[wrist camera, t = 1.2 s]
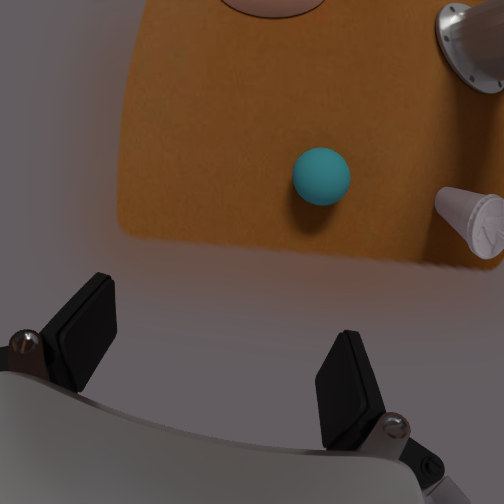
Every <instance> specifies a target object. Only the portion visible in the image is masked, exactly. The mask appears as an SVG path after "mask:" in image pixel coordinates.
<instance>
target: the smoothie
mask: <svg viewBox="0 0 504 504" xmlns="http://www.w3.org/2000/svg"><path fill="white" fill-rule="evenodd" d="M435 208H436V211H437V212H438V213H439V214H440V215H441V216H442V217H443V218H444V219H445V220H446V221H447V222H448V223H449V224H450V225H451V226H452V227H453V228H454V229H455V230H456V231H457V232H458V233H459V234H460V235H461V236H462V237H463V238H464V239H465V241H466V242H467V243H468V245H469V248H470V249H471V251H472V252H473V253H474V254H475V255H477V256H479V257H480V258H482V259H491V258H493V257H495V256H497V255H498V254H499V253H500V252H501V251H502V250H503V249H504V199H503V198H501V197H500V196H498V195H496V194H489V195H484V194H479V193H475V192H470V191H466V190H461V189H457V188H452V187H443V188H442V189H440V190H439V191H438V193H437V195H436V197H435Z"/></svg>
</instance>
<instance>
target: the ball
mask: <svg viewBox="0 0 504 504" xmlns="http://www.w3.org/2000/svg"><path fill="white" fill-rule="evenodd" d="M292 177H293V184H294V187H295V189H296V191H297V192H298V194H299V195H300V196H301V197H302V198H303V199H304V200H306V201H307V202H309V203H312V204H315V205H321V206H324V205H330V204H333V203H335V202H337V201H338V200H340V199H341V198H342V197H343V196H344V195H345V193H346V192H347V190H348V188H349V184H350V171H349V167H348V165H347V163H346V161H345V160H344V159H343V158H342V157H341V156H340V155H339V154H338V153H336V152H335V151H333V150H330V149H327V148H314V149H311V150H308V151H306V152H305V153H303V154H302V155H301V156H300V157H299V158H298V160H297V161H296V163H295V165H294V168H293V175H292Z"/></svg>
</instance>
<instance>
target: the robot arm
mask: <svg viewBox="0 0 504 504" xmlns="http://www.w3.org/2000/svg"><path fill="white" fill-rule="evenodd" d="M436 34H437V38H438V42H439V44H440V47H441V50H442V52H443V54H444V56H445V58H446V60H447V61H448V63H449V64H450V66H451V67H452V69H453V70H454V71H455V72H456V74H457V75H458V76H459V77H460V78H461V79H462V80H463V81H464V82H465V83H466V84H467V85H469V86H470V87H471V88H473V89H475V90H477V91H479V92H482V93H497V92H499V91H501V90H502V89H503V88H504V0H488V1H485V2H483V3H480V4H478V5H476V6H473V7H469V6H467V5H465V4H461V3H451V4H448V5H446V6H444V7H443V8H441V10H440V11H439V12H438V14H437V17H436ZM116 334H117V321H116V306H115V283H114V280H112V279H111V276H109V275H106V274H103V273H100V272H97V273H96V274H95V275H94V276H93V277H92V278H91V279H90V280H89V281H88V282H87V283H86V284H85V285H84V286H83V287H82V288H81V289H80V290H79V291H78V292H77V293H76V294H75V295H74V296H73V297H72V298H71V299H70V300H69V301H68V302H67V303H66V304H65V305H64V306H63V307H62V308H61V310H60V311H59V312H58V313H57V314H56V315H55V316H54V317H53V318H52V319H51V320H50V321H49V323H48V324H47V325H46V326H45V327H44V328H43V329H42V331H41V332H40V333H37V332H36V331H34V330H30V329H24V330H20V331H18V332H16V333H15V334H14V335H13V336H12V337H11V338H10V340H9V346H5V347H0V504H471V503H470V501H469V499H468V498H467V497H466V495H464V493H463V492H462V491H461V490H460V488H459V487H458V486H457V485H456V484H455V483H454V482H453V480H452V479H451V478H450V477H449V476H446V477H445V476H444V472H445V468H444V464H443V462H442V460H441V459H440V458H439V457H438V456H437V455H435V454H434V453H432V452H430V451H429V450H427V449H426V448H425V447H423V446H422V445H420V444H419V443H417V442H416V441H414V440H413V439H412V438H410V437H409V436H410V433H411V429H410V425H409V423H408V421H407V420H406V419H405V418H404V417H403V416H401V415H399V414H397V413H394V412H388V413H386V410H385V406H384V403H383V400H382V397H381V394H380V391H379V387H378V384H377V381H376V379H375V375H374V372H373V370H372V368H371V365H370V362H369V359H368V356H367V353H366V351H365V348H364V345H363V342H362V339H361V337H360V334H359V332H356V331H351V330H344V331H343V333H339V334H338V336H337V338H336V340H335V342H334V344H333V346H332V348H331V350H330V352H329V353H328V355H327V357H326V359H325V361H324V363H323V364H322V366H321V368H320V370H319V372H318V374H317V375H316V379H315V385H316V394H317V401H318V409H319V418H320V426H321V435H322V444H323V446H324V448H326V451H325V450H308V449H293V448H282V447H281V448H280V447H272V446H262V445H256V444H248V443H241V442H236V441H230V440H224V439H219V438H214V437H209V436H205V435H200V434H195V433H191V432H187V431H183V430H179V429H175V428H172V427H168V426H165V425H161V424H158V423H154V422H151V421H148V420H145V419H142V418H138V417H135V416H133V415H130V414H126V413H124V412H121V411H118V410H116V409H113V408H110V407H108V406H105V405H103V404H100V403H98V402H95V401H93V400H90V399H88V398H86V397H83V396H81V395H79V394H77V393H78V392H82V391H83V389H84V388H85V386H86V384H87V383H88V381H89V379H90V377H91V376H92V374H93V372H94V371H95V369H96V367H97V366H98V364H99V362H100V361H101V359H102V358H103V356H104V354H105V353H106V351H107V350H108V348H109V346H110V345H111V343H112V342H113V340H114V338H115V337H116Z"/></svg>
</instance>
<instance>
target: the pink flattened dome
mask: <svg viewBox="0 0 504 504" xmlns="http://www.w3.org/2000/svg"><path fill="white" fill-rule="evenodd" d="M223 1H224V2H225V3H226V4H228V5H229V6H231V7H233V8H235V9H237V10H239V11H241V12H244V13H247V14H251V15H255V16H260V17H275V18H277V17H288V16H294V15H298V14H301V13H304V12H307V11H309V10H311V9H313V8H315V7H316V6H318V5H319V4H320V3H321V2H322V1H323V0H223Z"/></svg>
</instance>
